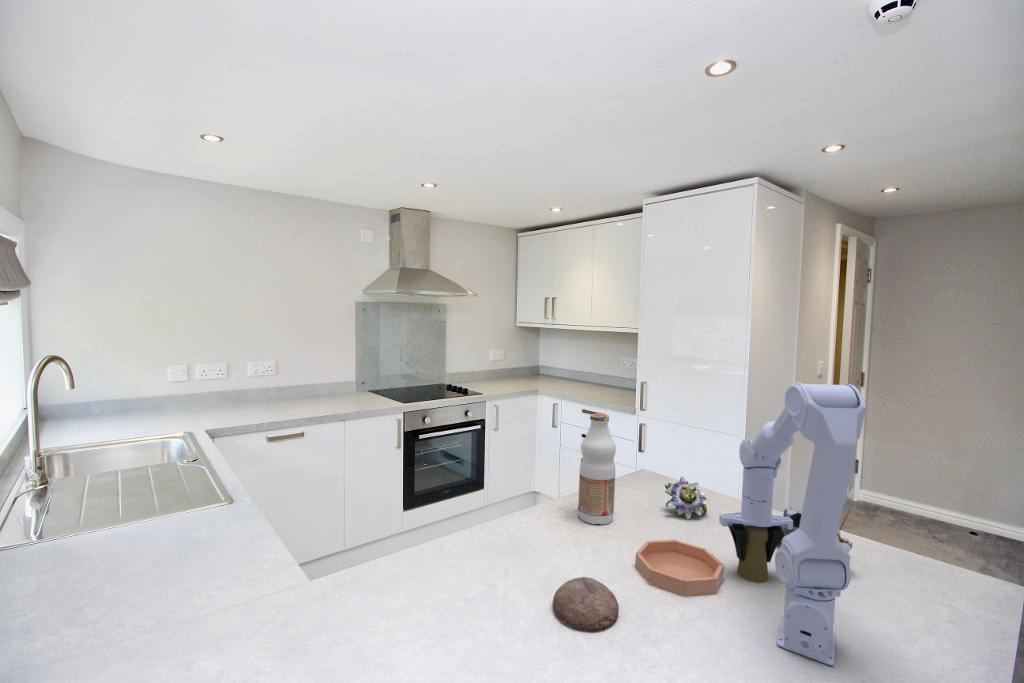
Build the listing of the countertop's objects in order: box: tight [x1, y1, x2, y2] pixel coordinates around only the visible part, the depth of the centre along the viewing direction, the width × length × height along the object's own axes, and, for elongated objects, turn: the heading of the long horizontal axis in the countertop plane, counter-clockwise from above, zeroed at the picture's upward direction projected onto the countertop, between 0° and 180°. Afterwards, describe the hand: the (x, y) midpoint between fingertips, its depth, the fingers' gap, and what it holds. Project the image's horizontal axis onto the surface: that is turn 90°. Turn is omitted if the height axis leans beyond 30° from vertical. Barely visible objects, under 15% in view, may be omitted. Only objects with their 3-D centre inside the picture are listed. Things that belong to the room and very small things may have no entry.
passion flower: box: [664, 476, 710, 521], centre depth 134 cm, size 11×11×12 cm
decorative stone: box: [552, 576, 620, 632], centre depth 88 cm, size 12×12×6 cm
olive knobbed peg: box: [736, 525, 769, 584], centre depth 102 cm, size 6×6×11 cm
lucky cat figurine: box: [778, 507, 854, 553], centre depth 110 cm, size 15×12×14 cm
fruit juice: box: [577, 413, 617, 525], centre depth 128 cm, size 9×9×28 cm
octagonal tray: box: [634, 539, 725, 597], centre depth 103 cm, size 17×17×3 cm
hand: (753, 559), depth 102 cm, fingers closed on olive knobbed peg, 5 cm apart
